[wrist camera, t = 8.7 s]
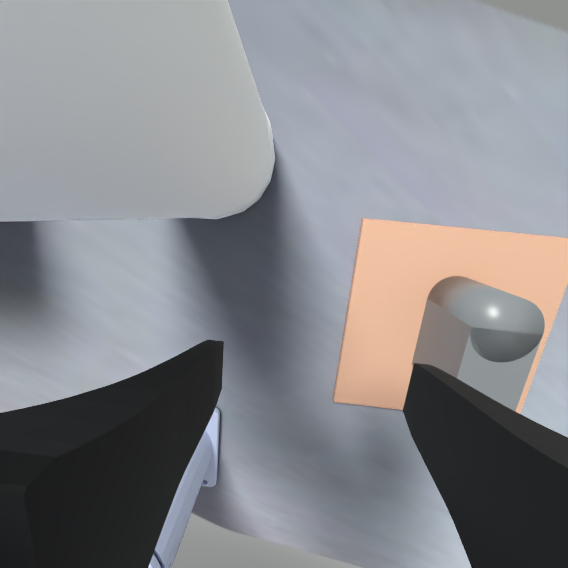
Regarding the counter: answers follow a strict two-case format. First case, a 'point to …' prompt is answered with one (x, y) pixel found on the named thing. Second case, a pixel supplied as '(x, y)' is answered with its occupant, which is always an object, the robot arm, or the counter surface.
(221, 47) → the bottle
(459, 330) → the plug
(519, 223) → the counter surface
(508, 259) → the plate
